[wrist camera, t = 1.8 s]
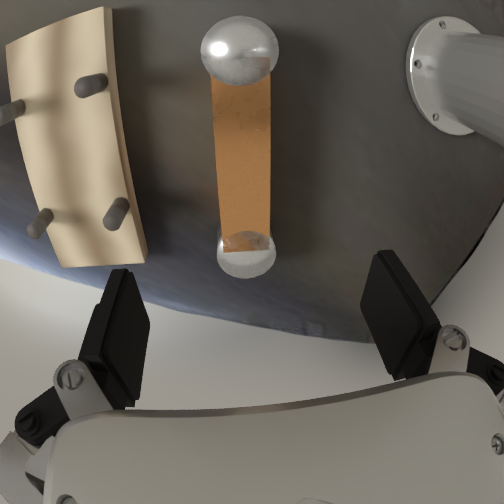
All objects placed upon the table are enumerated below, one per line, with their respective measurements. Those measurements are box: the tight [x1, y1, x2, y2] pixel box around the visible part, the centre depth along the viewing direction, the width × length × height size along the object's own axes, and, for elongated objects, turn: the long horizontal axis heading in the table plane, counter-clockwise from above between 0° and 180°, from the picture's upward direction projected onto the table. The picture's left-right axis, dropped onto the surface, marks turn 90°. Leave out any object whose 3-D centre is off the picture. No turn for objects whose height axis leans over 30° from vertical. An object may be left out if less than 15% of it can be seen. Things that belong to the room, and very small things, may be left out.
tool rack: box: [0, 6, 148, 268], centre depth 21 cm, size 10×24×5 cm, turn 1°
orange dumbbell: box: [201, 16, 279, 278], centre depth 24 cm, size 5×22×4 cm, turn 1°
